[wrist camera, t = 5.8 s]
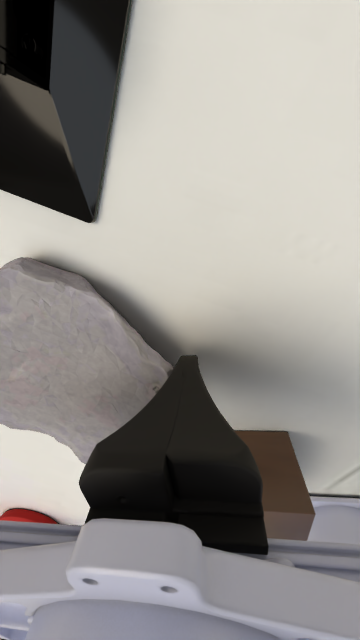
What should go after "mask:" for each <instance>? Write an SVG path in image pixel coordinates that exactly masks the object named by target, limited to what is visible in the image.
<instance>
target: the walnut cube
mask: <svg viewBox="0 0 360 640" xmlns="http://www.w3.org/2000/svg"><path fill="white" fill-rule="evenodd" d="M235 432H236V434H237V435H238V436H239V437H240V438H241V439H242V440H243V441H244V442H245V443H246V445H247V446H248V447H249V449H250V451H251V453H252V455H253V457H254V459H255V461H256V464H257V466H258V469H259V471H260V474H261V478H262V482H263V492H262V506H263V511H264V523H265V529H266V534H267V538H271V539H286V540H301V541H307V539H308V536H309V533H310V530H311V527H312V524H313V521H314V518H315V515H316V513H315V510H314V507H313V505H312V502H311V499H310V496H309V493H308V490H307V487H306V484H305V481H304V478H303V475H302V472H301V470H300V467H299V464H298V461H297V458H296V455H295V452H294V449H293V446H292V443H291V440H290V437H289V434H288V432H268V431H235Z"/></svg>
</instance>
